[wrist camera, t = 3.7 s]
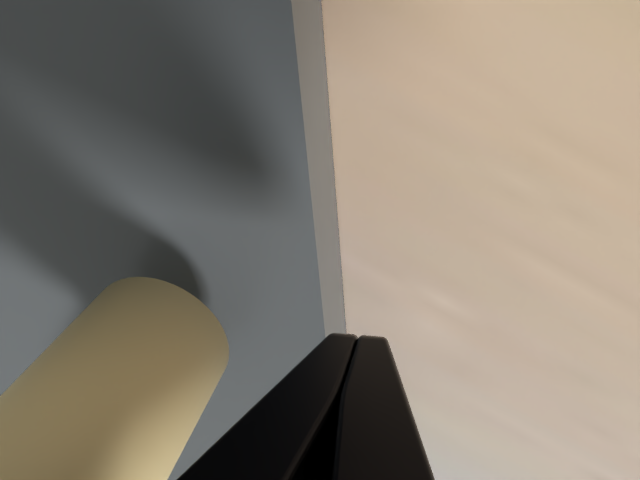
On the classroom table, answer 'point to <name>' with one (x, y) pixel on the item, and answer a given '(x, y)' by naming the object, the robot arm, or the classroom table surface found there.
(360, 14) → the classroom table surface
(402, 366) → the classroom table surface
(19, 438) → the beige and grey mallet
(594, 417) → the classroom table surface
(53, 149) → the gauge plate
